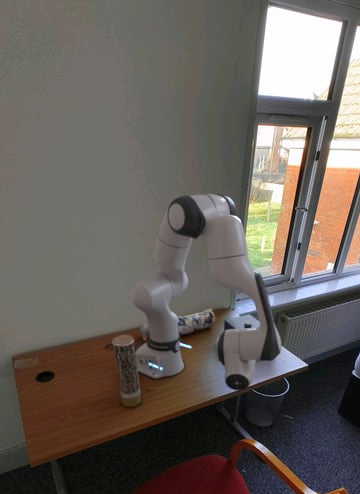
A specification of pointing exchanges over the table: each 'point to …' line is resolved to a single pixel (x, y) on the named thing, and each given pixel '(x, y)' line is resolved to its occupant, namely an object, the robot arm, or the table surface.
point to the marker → (247, 324)
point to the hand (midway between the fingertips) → (247, 336)
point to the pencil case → (195, 322)
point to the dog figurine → (144, 329)
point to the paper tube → (127, 370)
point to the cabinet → (240, 322)
